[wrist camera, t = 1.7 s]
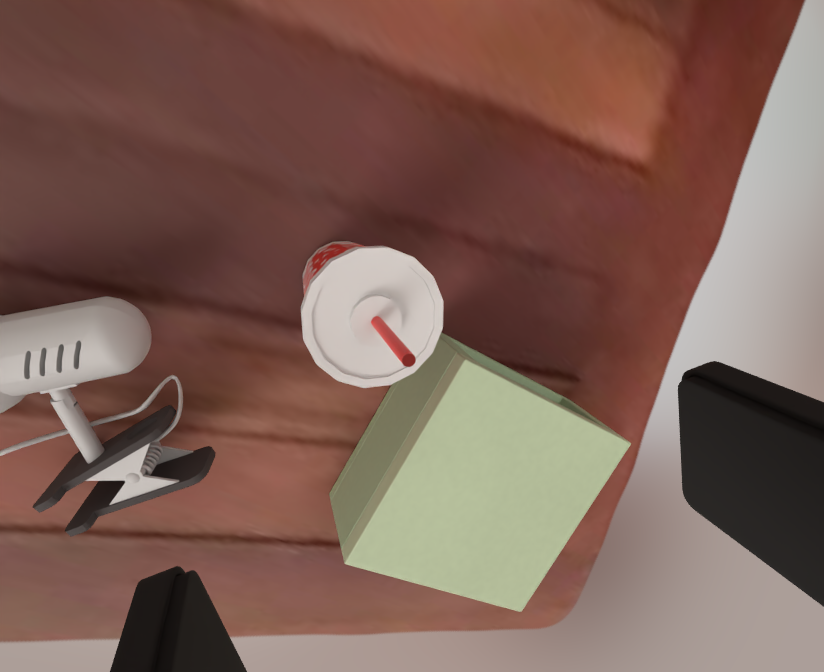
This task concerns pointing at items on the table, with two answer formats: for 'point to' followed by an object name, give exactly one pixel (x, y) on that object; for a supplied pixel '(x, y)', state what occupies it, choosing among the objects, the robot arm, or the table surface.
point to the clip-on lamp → (68, 367)
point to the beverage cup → (369, 313)
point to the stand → (471, 478)
